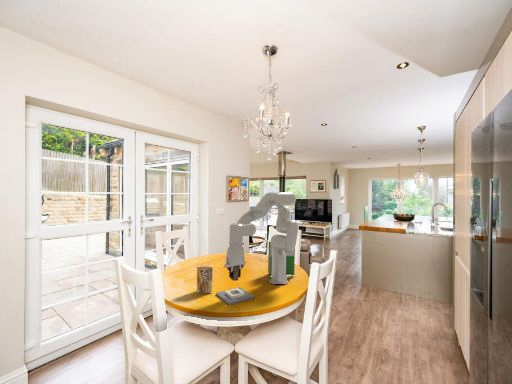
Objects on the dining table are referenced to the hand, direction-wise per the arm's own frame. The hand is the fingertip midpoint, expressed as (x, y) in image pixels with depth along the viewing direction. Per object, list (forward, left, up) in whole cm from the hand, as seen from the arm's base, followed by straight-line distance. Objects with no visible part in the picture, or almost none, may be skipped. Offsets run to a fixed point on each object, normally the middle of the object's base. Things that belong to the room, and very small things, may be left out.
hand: (234, 277), depth 136 cm
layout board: (0, 0, -11) cm, 11 cm away
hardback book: (-46, -13, -11) cm, 49 cm away
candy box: (+12, -15, -11) cm, 22 cm away
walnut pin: (0, 0, -1) cm, 1 cm away
